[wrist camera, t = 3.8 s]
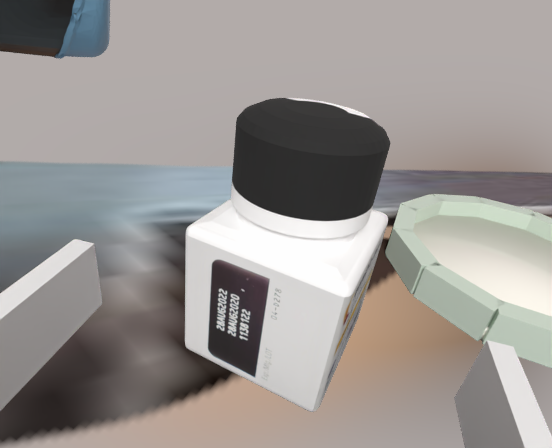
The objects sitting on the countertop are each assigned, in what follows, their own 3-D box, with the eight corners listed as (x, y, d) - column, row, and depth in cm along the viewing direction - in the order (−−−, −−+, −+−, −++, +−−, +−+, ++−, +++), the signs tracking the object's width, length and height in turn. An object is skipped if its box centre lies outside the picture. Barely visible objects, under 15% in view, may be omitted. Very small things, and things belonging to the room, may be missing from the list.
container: (315, 418, 18) (390, 156, 11) (181, 349, 20) (182, 102, 14) (357, 319, 24) (422, 113, 18) (251, 275, 27) (274, 81, 20)
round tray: (369, 303, 26) (379, 274, 24) (400, 199, 41) (407, 178, 40) (720, 427, 20) (755, 398, 19) (603, 254, 36) (618, 232, 35)
